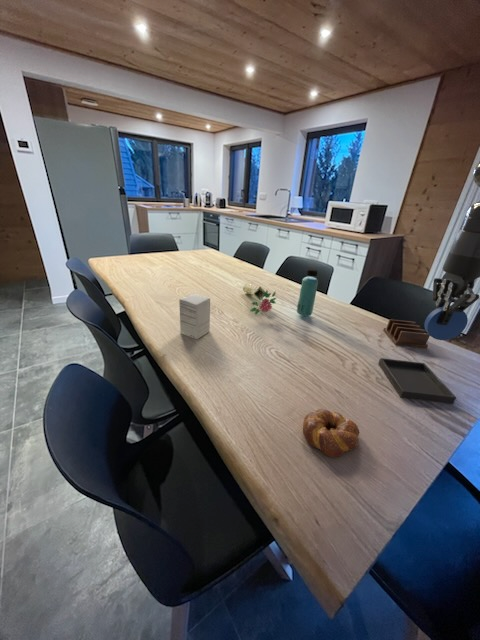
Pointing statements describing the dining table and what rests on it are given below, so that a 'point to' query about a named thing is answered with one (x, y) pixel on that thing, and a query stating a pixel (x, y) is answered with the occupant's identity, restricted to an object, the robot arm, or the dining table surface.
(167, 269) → the dining table surface
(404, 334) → the rack
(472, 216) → the robot arm
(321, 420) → the braided bread ring
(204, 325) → the white packaging box
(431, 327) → the disc
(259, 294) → the flower vase
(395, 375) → the tray
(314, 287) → the beverage bottle
